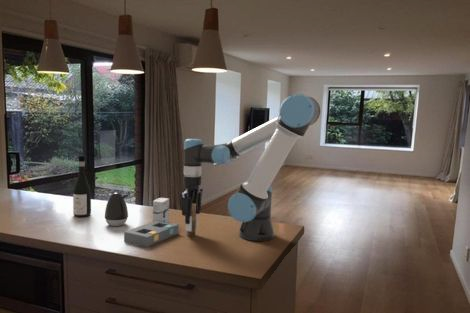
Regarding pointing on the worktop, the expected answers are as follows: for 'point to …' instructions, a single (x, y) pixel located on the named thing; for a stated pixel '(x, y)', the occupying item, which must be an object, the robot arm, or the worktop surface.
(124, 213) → the pump dispenser
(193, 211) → the walnut plug
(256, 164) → the robot arm
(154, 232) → the socket box
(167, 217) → the ink box
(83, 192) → the wine bottle
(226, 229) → the worktop surface
